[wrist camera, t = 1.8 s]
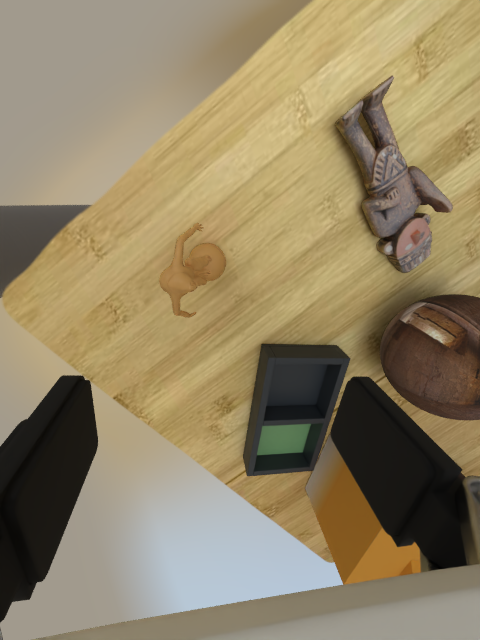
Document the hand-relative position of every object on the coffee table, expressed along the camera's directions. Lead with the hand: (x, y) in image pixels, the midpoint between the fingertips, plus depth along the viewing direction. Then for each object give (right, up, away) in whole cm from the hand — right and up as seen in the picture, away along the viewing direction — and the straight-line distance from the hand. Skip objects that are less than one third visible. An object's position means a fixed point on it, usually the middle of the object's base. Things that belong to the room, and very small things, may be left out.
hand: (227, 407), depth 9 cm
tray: (+8, -10, +32) cm, 34 cm away
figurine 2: (+17, +18, +21) cm, 32 cm away
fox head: (+25, -25, +41) cm, 54 cm away
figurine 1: (-4, +10, +20) cm, 23 cm away
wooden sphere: (+25, +2, +29) cm, 39 cm away
